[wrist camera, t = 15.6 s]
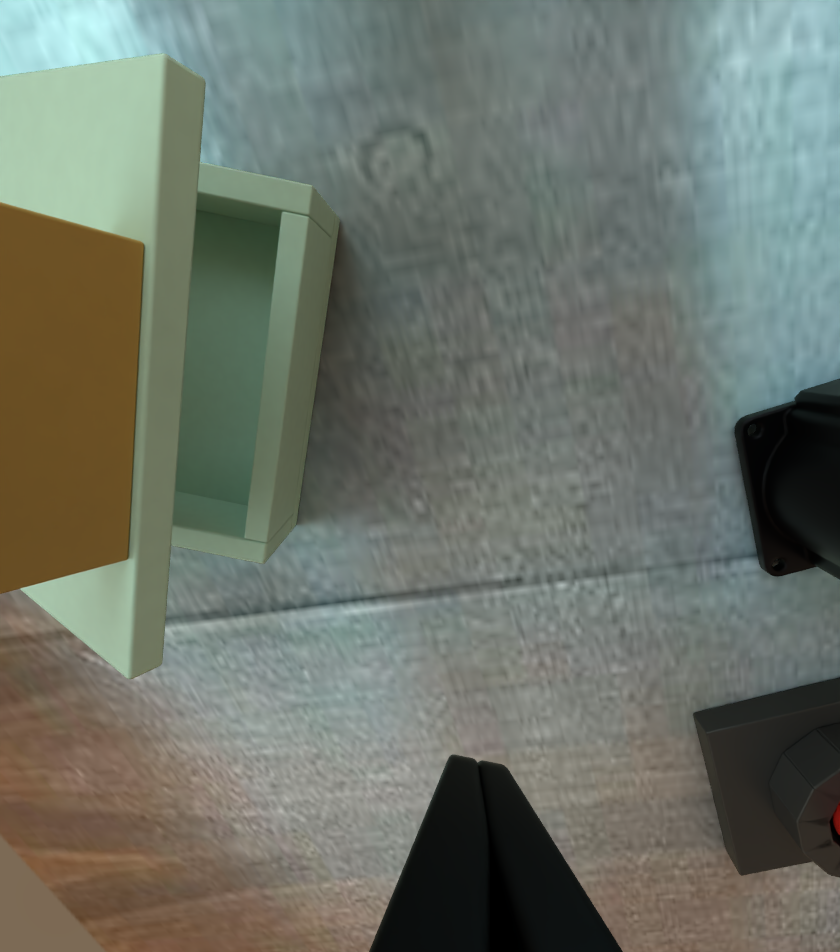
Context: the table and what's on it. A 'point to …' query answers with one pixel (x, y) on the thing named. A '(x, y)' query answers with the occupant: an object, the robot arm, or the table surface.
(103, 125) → the chest lid
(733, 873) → the table surface
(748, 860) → the block
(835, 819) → the release button
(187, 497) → the chest
